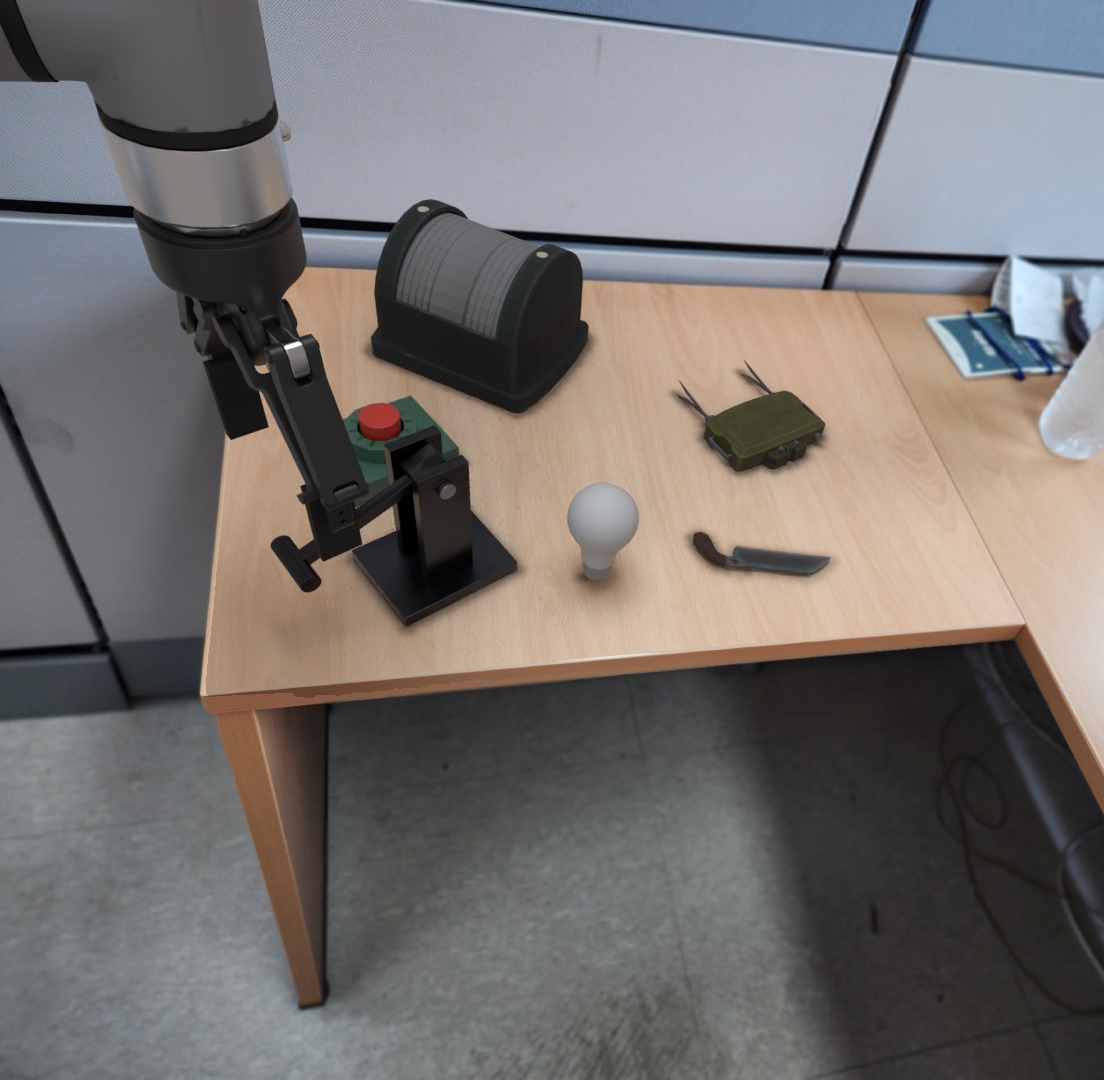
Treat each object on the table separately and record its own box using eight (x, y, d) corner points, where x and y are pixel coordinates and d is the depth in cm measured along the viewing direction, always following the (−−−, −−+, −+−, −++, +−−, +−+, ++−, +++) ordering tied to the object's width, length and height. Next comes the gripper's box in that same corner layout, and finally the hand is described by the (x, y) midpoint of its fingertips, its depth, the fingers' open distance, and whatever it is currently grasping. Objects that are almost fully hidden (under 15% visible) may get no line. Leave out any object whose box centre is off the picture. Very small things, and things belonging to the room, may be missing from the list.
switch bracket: (406, 627, 71) (390, 517, 61) (353, 558, 75) (329, 444, 65) (517, 569, 78) (519, 461, 67) (463, 509, 81) (457, 397, 71)
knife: (692, 565, 82) (693, 560, 81) (692, 534, 84) (693, 529, 84) (832, 581, 84) (834, 576, 83) (828, 550, 86) (830, 546, 86)
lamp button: (372, 446, 79) (370, 432, 78) (353, 424, 81) (351, 410, 79) (408, 433, 81) (406, 419, 80) (389, 411, 83) (387, 397, 81)
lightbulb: (620, 608, 77) (633, 528, 69) (554, 592, 77) (560, 510, 69) (635, 559, 81) (649, 477, 73) (572, 543, 81) (580, 460, 73)
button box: (354, 506, 79) (348, 476, 76) (308, 449, 82) (300, 418, 79) (459, 463, 85) (458, 433, 82) (412, 411, 88) (409, 381, 85)
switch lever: (310, 598, 64) (294, 585, 62) (279, 555, 66) (263, 541, 64) (464, 485, 68) (454, 469, 66) (431, 448, 70) (420, 431, 68)
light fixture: (529, 304, 80) (344, 232, 82) (526, 417, 91) (362, 351, 93) (606, 230, 92) (442, 168, 94) (595, 339, 102) (448, 281, 104)
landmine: (746, 466, 89) (664, 381, 95) (741, 484, 91) (661, 400, 97) (841, 426, 96) (759, 351, 102) (834, 444, 98) (754, 368, 104)
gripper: (410, 307, 41) (437, 579, 56) (189, 86, 50) (264, 371, 66) (250, 354, 37) (327, 634, 52) (43, 104, 46) (159, 403, 62)
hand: (292, 487), depth 59 cm, fingers open, 13 cm apart
